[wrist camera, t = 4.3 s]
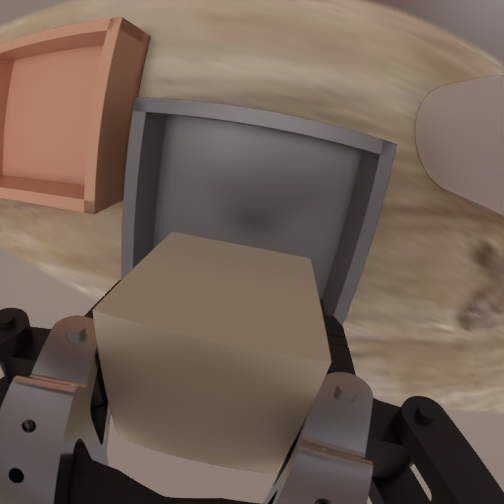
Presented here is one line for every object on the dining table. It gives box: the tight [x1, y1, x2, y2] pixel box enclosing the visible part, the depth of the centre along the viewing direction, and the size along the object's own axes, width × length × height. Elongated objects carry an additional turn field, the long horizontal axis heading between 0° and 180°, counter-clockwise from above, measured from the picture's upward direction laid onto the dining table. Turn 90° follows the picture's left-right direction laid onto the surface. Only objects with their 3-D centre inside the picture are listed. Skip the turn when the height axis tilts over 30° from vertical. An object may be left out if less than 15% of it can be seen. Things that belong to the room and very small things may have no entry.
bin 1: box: [0, 17, 150, 214], centre depth 17 cm, size 14×12×4 cm
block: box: [93, 232, 331, 474], centre depth 8 cm, size 4×4×5 cm
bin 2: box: [122, 97, 397, 325], centre depth 19 cm, size 14×13×4 cm
